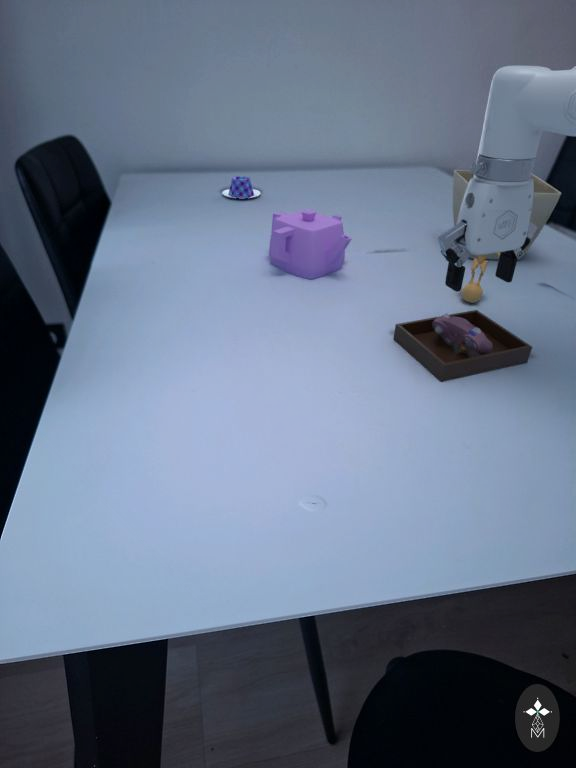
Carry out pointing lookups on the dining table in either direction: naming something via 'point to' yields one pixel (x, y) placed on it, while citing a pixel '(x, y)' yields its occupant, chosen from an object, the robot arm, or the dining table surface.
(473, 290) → the figurine
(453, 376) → the tray
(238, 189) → the pudding
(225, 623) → the dining table surface
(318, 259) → the teakettle
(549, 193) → the flower pot
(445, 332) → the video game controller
